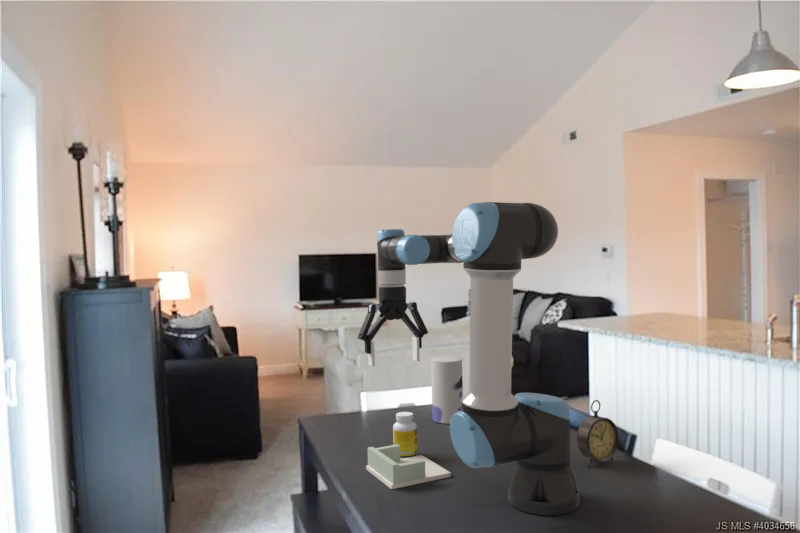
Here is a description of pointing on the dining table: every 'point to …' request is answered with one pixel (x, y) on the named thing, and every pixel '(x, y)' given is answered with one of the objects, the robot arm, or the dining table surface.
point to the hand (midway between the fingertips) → (394, 363)
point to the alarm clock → (597, 438)
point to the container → (446, 387)
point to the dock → (402, 467)
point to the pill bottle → (405, 434)
